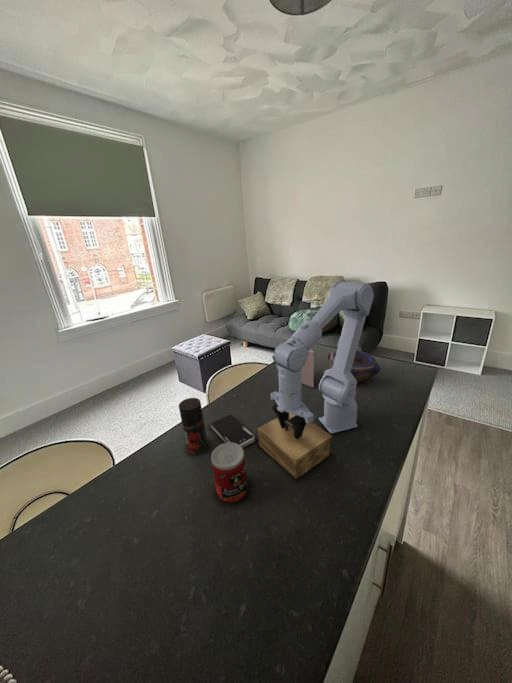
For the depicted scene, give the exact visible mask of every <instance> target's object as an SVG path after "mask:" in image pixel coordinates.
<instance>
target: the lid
mask: <svg viewBox="0 0 512 683" xmlns="http://www.w3.org/2000/svg"><path fill="white" fill-rule="evenodd" d="M294 416H296V415H294V414H291V413H289V419H288V418H287V417H285V418H284V419H283V422H284V423H285V428H283V429H282V428H281V426H280V423H279V420H278V417H276V418H274V419H272V420H270V421H269V422H267V423H265V424H263V425H261V426H259V427H257V432H258V431H259V432H260V433H262V434H263V435H264V436H265V437H266V438H267V439H269V440H270V441H271V442H272V443H273V444H274V445H276V446H277V447H278V448H279V449H280V450H281V451H283V452H284V453H285V454H286V455H287V456H288V457H290V458H291V459H292V460H293V461H294V462H295V463H296V462H298V461H299V460H301V459H302V458H304V457H305V456H307V455H308V454H310V453H311V452H312V451H314V450H315V449H317V448H318V447H320V446H321V445H323V444H324V443H326V442H327V441H329V440H330V441H331V440H332V439H333V434H331V433H330V432H327V431H325V430H324V429H323V428H321V427H319V426H318V425H317V424H316V423H314V422H313V421H312V422H311V423H309V424H306V425H305V428H304V430H303V434H302V436H301V437H300V438H298V439H296V438H295V437H294V430H293V426H292V423H291V421H290V419H291V418H292V417H294Z"/></svg>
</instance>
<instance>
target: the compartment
mask: <svg viewBox="0 0 512 683" xmlns="http://www.w3.org/2000/svg"><path fill="white" fill-rule="evenodd" d="M257 433H258V434H257V435H258V446H259V447H261V449H262V450H264V451H265V453H267V455H269V456H270V457H271V458H272V459H274V461H275V462H276V463H278V464H279V465H280V466H281V467H282V468H283V469H284V470H285V471H286V472H287V473H289V475H291V477H293V478H294V479H295V480H297V479H298V478H300V477H302V476H303V475H304V474H306V473H307V472H308V471H310V470H311V469H313V468H314V467H315V466H317V465H318V464H320V463H321V462H322V461H324V460H325V459H326V458H328V457H330V455H331V439H330V440H329V441H327V442H326V443H324V444H323V445H321V446H320V447H318V448H317V449H315V450H314V451H312V452H311V453H310V454H308V455H307V456H305V457H304V458H302V459H301V460H299V461H298V462H296V463H295V462H294V461H293V460H292V459H291V458H290V457H288V456H287V455H286V454H285V453H284V452H283V451H281V450H280V449H279V448H278V447H277V446H276V445H274V444H273V443H272V442H271V441H270V440H269V439H267V438H266V437H265V436H264V435H263V434H262V433H260V432H259V431H258V430H257Z"/></svg>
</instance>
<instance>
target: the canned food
mask: <svg viewBox="0 0 512 683" xmlns="http://www.w3.org/2000/svg"><path fill="white" fill-rule="evenodd" d="M210 459H211V467H212V472H213V478H214V485H215V490H216V494H217V496H218V498H219V499H220V500H222V501H223V502H225V503H230V504H232V503H236V502H239V501H240V500H242V499H243V498H244V496H245V495H246V494H247V491H248V478H247V476H248V475H247V466H246V457H245V451H244V448H242V447H241V446H240V445H238V444H236V443H232V442H228V443H225V442H223V443H221V444H219V445H217V446H216V447H215V448H214V449H213V450H212V452H211V457H210Z"/></svg>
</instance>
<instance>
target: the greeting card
mask: <svg viewBox="0 0 512 683" xmlns="http://www.w3.org/2000/svg"><path fill="white" fill-rule="evenodd" d="M315 355H316V353H315V352H314V351H313V350H312V349H311V350H310V351H309V355H308V357H307V360H306V363H305V365H304V366H303V367H302V368H301V385H304V386H308V387H311V388H314V387H315V384H314V382H315V380H314V379H315Z"/></svg>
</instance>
